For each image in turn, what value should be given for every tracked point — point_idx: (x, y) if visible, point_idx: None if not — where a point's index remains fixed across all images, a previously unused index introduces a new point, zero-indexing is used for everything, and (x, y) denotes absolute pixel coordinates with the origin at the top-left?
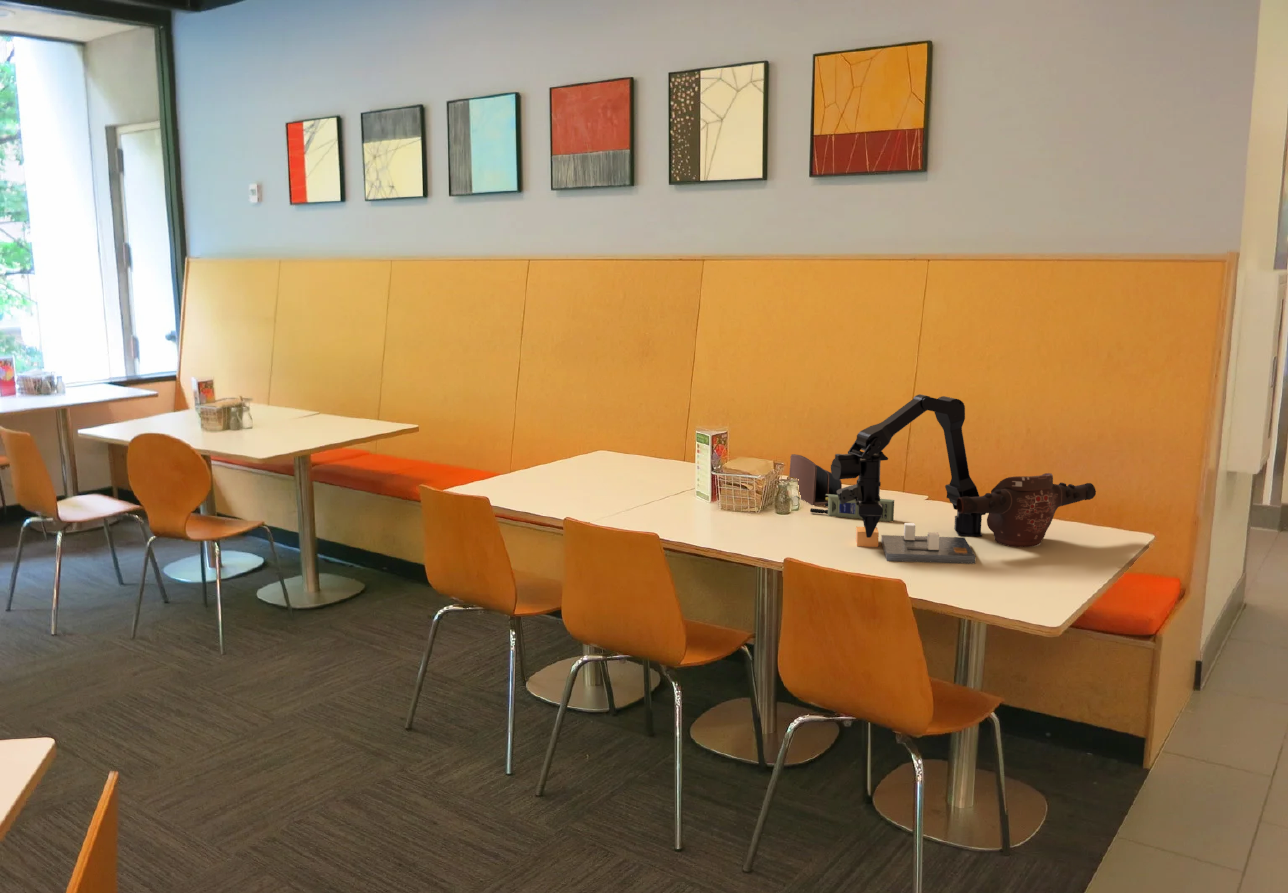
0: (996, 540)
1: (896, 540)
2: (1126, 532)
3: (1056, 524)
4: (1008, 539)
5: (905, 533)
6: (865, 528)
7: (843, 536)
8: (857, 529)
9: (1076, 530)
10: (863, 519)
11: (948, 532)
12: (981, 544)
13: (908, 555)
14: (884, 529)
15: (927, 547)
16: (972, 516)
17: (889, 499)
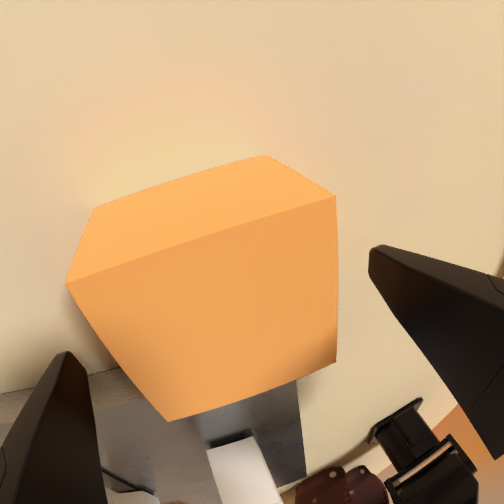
0: (324, 473)
1: (193, 430)
2: (375, 474)
3: None
4: (301, 496)
5: (215, 479)
6: (13, 426)
7: (363, 50)
8: (189, 248)
9: (389, 459)
10: (435, 285)
11: (408, 397)
12: (308, 467)
13: None
14: (468, 253)
15: (133, 492)
16: (396, 469)
17: None
